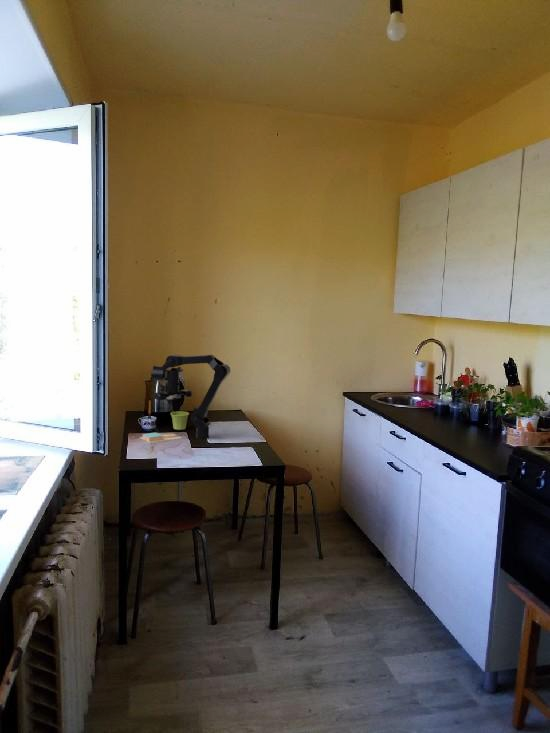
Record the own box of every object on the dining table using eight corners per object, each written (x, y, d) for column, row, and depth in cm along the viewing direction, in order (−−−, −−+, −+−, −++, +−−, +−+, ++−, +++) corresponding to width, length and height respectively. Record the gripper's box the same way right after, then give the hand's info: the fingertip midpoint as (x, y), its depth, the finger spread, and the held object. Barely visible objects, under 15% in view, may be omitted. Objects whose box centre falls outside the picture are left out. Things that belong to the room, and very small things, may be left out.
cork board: (183, 439, 264) (183, 437, 264) (151, 444, 253) (151, 443, 253) (170, 434, 273) (170, 432, 273) (139, 439, 262) (139, 437, 262)
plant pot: (191, 431, 281) (191, 414, 280) (173, 432, 277) (173, 415, 276) (185, 427, 290) (186, 411, 288) (168, 428, 286) (168, 412, 284)
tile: (162, 435, 260) (149, 437, 255) (162, 439, 260) (149, 441, 255) (155, 432, 265) (142, 434, 261) (155, 436, 265) (142, 438, 261)
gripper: (180, 377, 278) (180, 407, 280) (147, 379, 265) (147, 411, 267) (192, 379, 270) (192, 410, 271) (159, 383, 257) (159, 415, 259)
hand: (172, 412), depth 267 cm, fingers closed
